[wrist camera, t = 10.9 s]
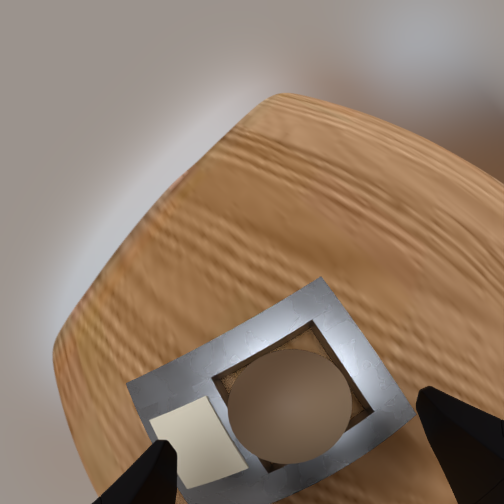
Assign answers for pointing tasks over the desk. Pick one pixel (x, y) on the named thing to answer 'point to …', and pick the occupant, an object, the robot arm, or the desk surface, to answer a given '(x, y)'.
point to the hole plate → (216, 398)
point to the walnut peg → (289, 406)
